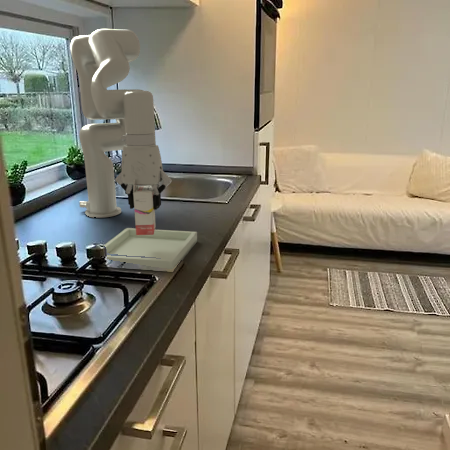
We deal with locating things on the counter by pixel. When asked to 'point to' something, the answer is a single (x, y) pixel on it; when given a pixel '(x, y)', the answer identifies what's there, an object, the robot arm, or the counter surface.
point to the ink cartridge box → (144, 210)
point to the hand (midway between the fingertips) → (145, 207)
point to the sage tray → (151, 247)
